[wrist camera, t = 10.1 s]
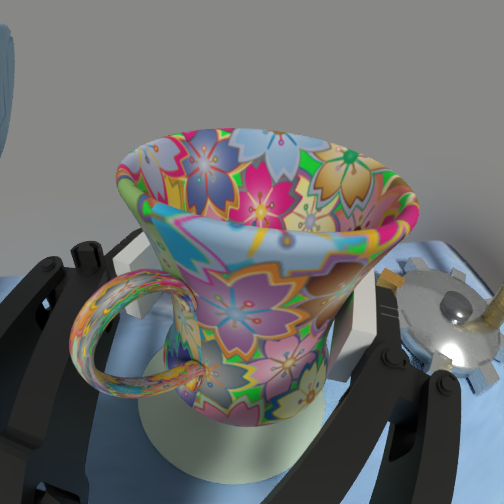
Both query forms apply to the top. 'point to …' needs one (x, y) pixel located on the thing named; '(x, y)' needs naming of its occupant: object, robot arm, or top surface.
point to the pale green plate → (224, 438)
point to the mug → (246, 264)
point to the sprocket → (448, 322)
